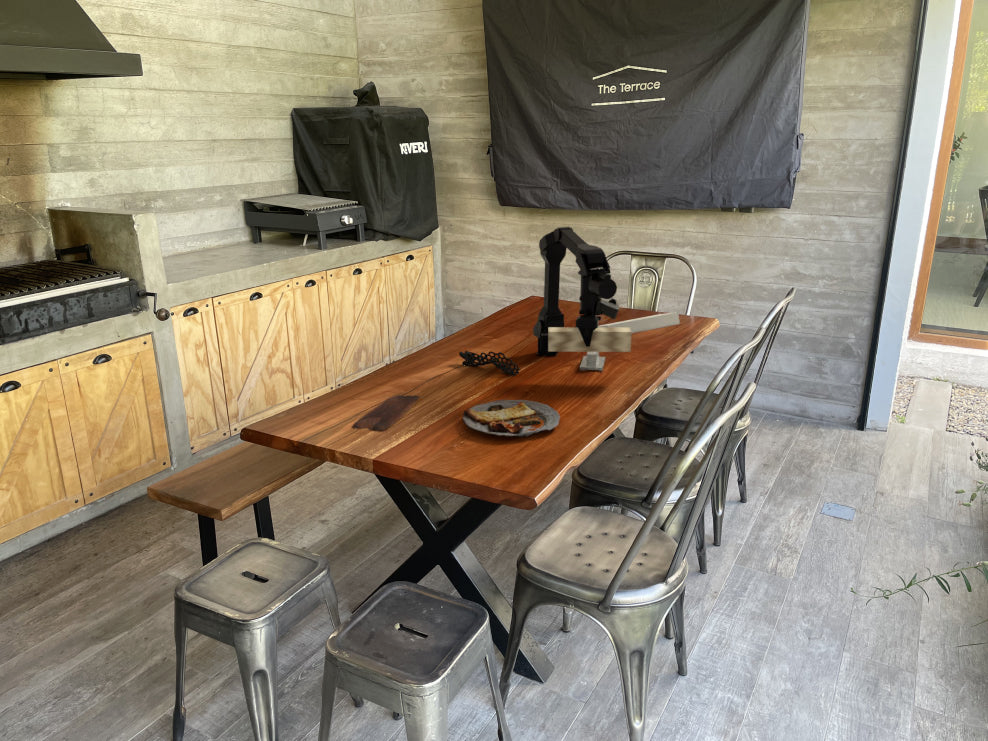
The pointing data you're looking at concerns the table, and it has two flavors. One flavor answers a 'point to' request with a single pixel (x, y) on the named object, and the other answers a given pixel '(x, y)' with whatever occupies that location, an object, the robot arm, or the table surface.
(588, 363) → the ridge
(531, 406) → the food plate
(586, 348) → the maple beam
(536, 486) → the table surface
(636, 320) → the decorative molding
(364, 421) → the wooden tablet
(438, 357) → the table surface
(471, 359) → the decorative element
